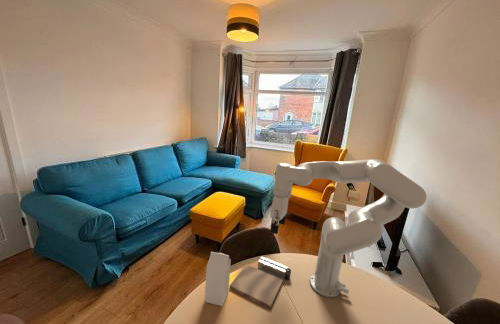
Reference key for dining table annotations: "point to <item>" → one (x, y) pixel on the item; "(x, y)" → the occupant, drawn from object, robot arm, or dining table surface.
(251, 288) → the walnut board
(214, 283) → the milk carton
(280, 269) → the gray rounded bar
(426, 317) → the dining table surface
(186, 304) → the dining table surface
